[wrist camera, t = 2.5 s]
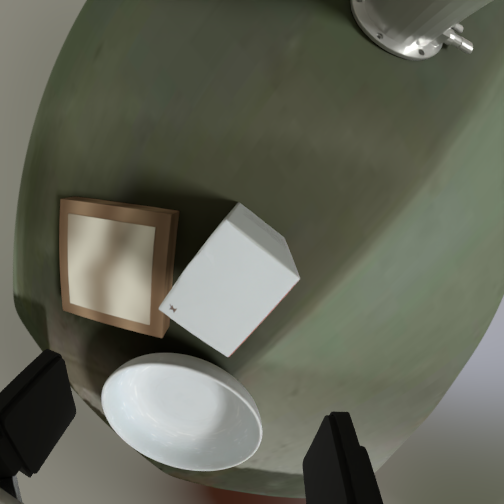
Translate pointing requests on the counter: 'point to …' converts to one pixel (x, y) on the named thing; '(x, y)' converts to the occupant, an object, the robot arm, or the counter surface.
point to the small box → (232, 281)
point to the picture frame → (117, 262)
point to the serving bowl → (182, 412)
